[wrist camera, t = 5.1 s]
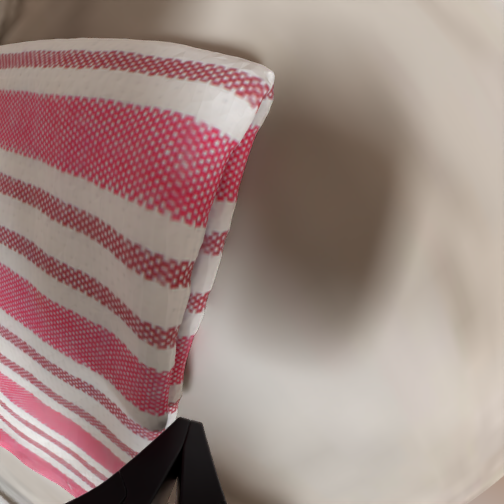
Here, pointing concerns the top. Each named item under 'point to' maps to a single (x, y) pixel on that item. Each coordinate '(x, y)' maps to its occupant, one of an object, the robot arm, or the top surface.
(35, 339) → the dish towel
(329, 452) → the top surface
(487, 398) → the top surface
